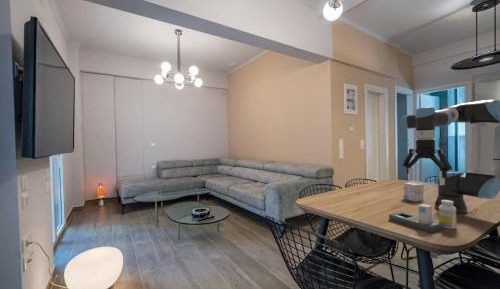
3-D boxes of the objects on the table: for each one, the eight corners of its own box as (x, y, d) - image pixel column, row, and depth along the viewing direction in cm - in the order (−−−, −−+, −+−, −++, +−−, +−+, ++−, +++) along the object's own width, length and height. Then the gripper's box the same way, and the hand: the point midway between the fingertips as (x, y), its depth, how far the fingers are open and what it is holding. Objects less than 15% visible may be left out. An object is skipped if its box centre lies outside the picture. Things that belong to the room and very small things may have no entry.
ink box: (403, 198, 167) (403, 180, 167) (411, 197, 170) (411, 179, 170) (415, 201, 159) (414, 182, 159) (423, 200, 162) (423, 181, 161)
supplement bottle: (448, 224, 118) (447, 199, 118) (460, 229, 111) (460, 202, 111) (435, 224, 118) (435, 199, 117) (446, 229, 111) (446, 203, 111)
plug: (423, 225, 116) (422, 203, 116) (432, 228, 113) (432, 205, 113) (417, 227, 114) (417, 205, 114) (426, 230, 111) (426, 207, 111)
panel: (400, 216, 129) (400, 211, 129) (442, 229, 111) (442, 222, 111) (389, 219, 125) (389, 214, 125) (430, 233, 107) (430, 226, 107)
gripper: (394, 139, 122) (395, 179, 122) (452, 139, 99) (453, 187, 100) (403, 139, 125) (404, 178, 126) (461, 138, 103) (461, 186, 103)
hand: (425, 182), depth 113 cm, fingers open, 13 cm apart
